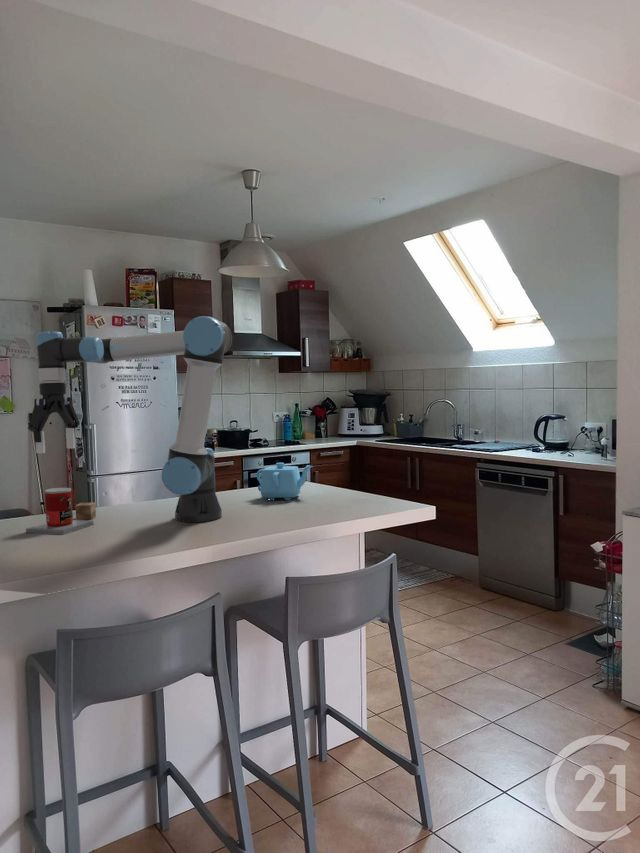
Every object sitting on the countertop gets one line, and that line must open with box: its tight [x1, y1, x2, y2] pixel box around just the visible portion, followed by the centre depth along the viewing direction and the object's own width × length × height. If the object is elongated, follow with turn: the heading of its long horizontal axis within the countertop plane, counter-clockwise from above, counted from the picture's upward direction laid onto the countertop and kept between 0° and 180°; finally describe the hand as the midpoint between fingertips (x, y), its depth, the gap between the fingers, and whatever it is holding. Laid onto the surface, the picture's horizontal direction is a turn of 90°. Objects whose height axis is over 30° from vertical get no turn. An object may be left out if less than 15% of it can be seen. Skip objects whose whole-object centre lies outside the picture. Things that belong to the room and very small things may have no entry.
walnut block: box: [74, 502, 97, 521], centre depth 223 cm, size 5×5×5 cm
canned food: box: [44, 487, 74, 527], centre depth 209 cm, size 8×8×11 cm
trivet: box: [25, 519, 95, 535], centre depth 209 cm, size 14×14×1 cm
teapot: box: [255, 462, 313, 501], centre depth 252 cm, size 18×16×14 cm
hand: (56, 450), depth 207 cm, fingers open, 13 cm apart
